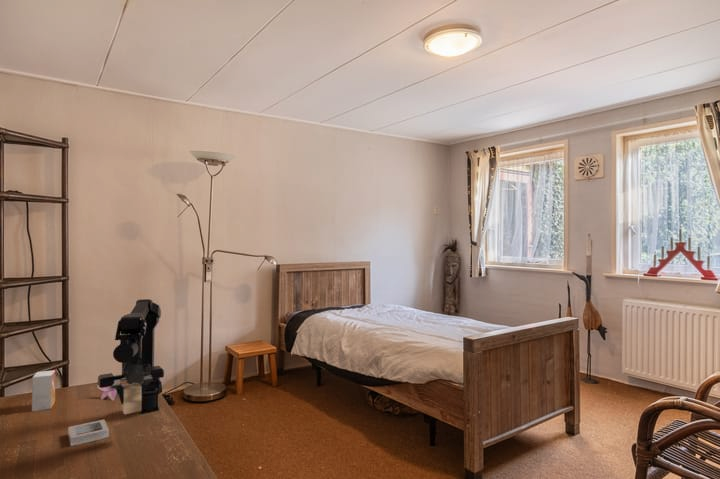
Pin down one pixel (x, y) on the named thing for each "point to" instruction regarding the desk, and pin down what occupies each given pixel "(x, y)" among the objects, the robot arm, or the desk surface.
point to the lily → (108, 392)
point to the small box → (43, 390)
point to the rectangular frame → (88, 436)
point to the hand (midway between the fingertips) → (131, 402)
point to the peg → (131, 398)
